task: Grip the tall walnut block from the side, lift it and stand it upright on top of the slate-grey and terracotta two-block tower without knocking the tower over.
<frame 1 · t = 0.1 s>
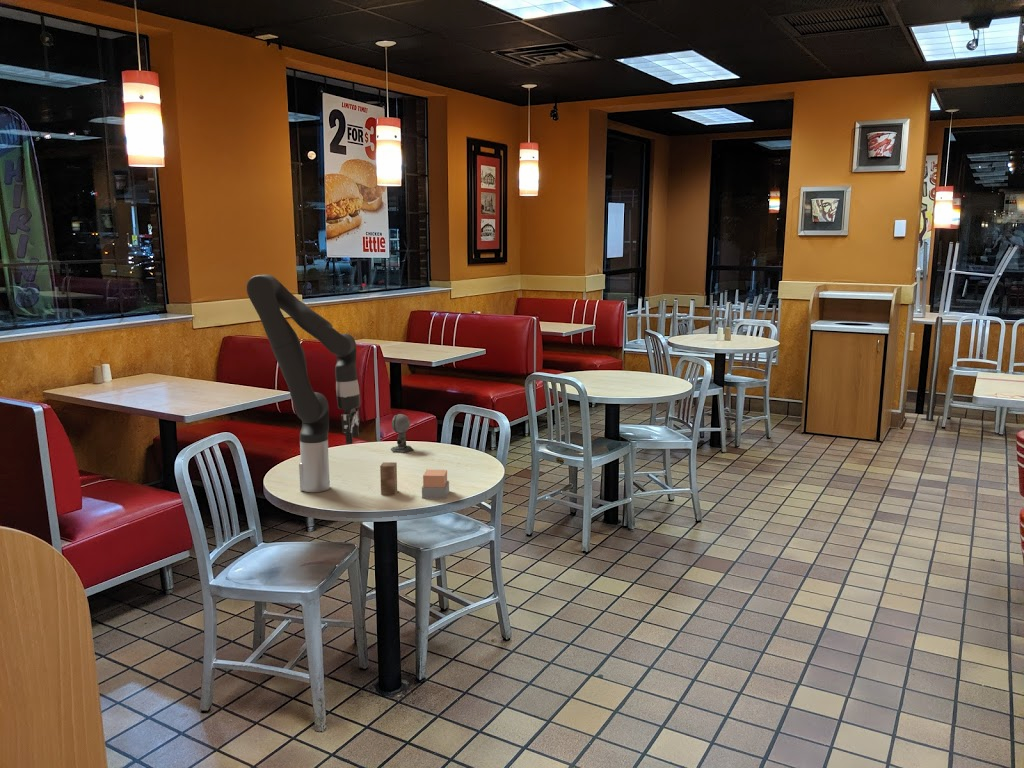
hand: (352, 440, 261), 17 cm above the table, tool pointing down, fingers open, 8 cm apart
tower top: (435, 484, 258), point 4 cm above the table, touching tower base
grey round-topped stand: (402, 450, 315), on the table
walnut block: (389, 492, 261), on the table
tower base: (435, 495, 259), on the table, touching tower top
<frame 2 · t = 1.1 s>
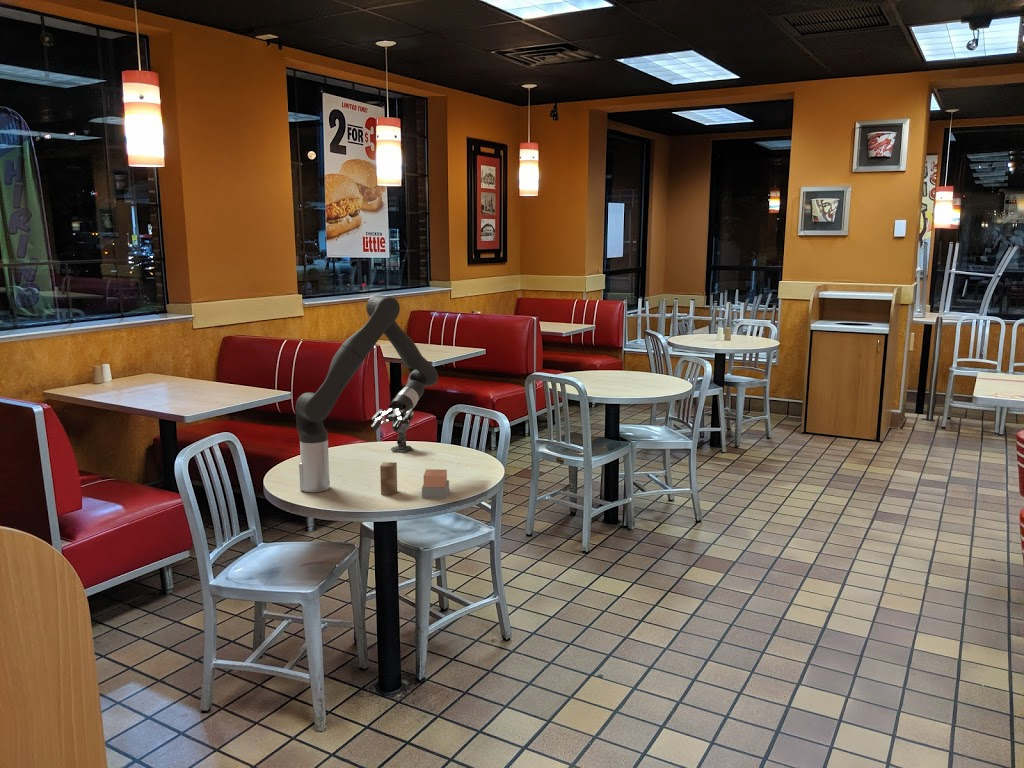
hand: (383, 429, 262), 21 cm above the table, tool tilted 65°, fingers open, 8 cm apart
nothing on the table moved.
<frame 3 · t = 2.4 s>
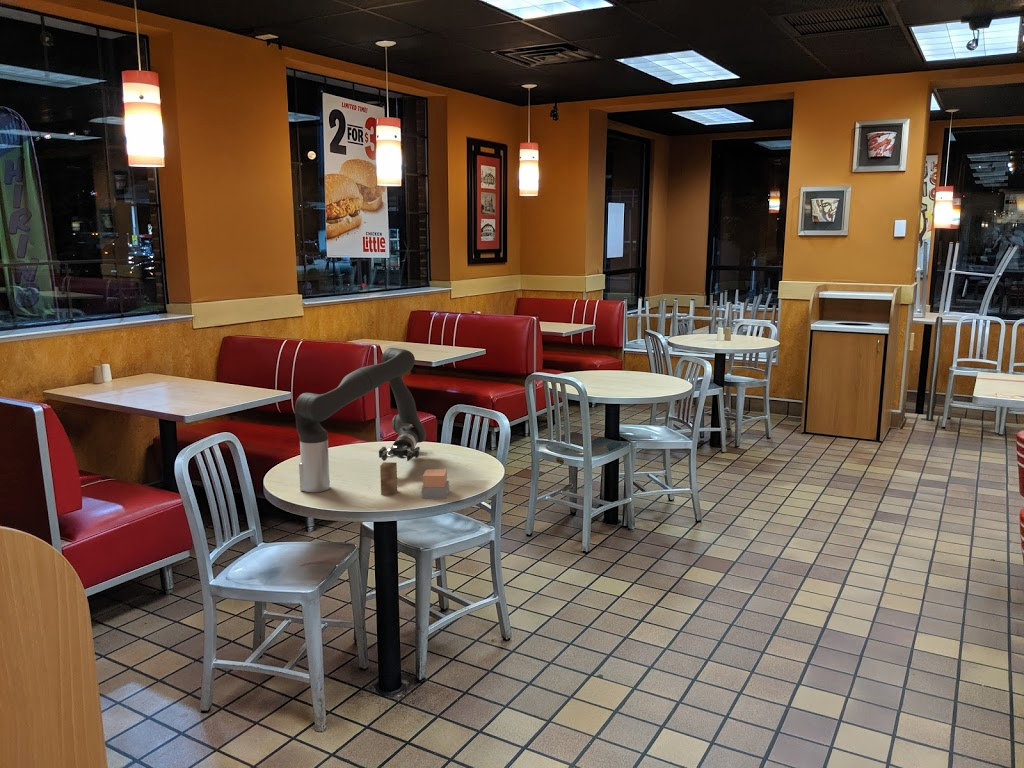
hand: (395, 458, 270), 9 cm above the table, tool horizontal, fingers open, 8 cm apart
nothing on the table moved.
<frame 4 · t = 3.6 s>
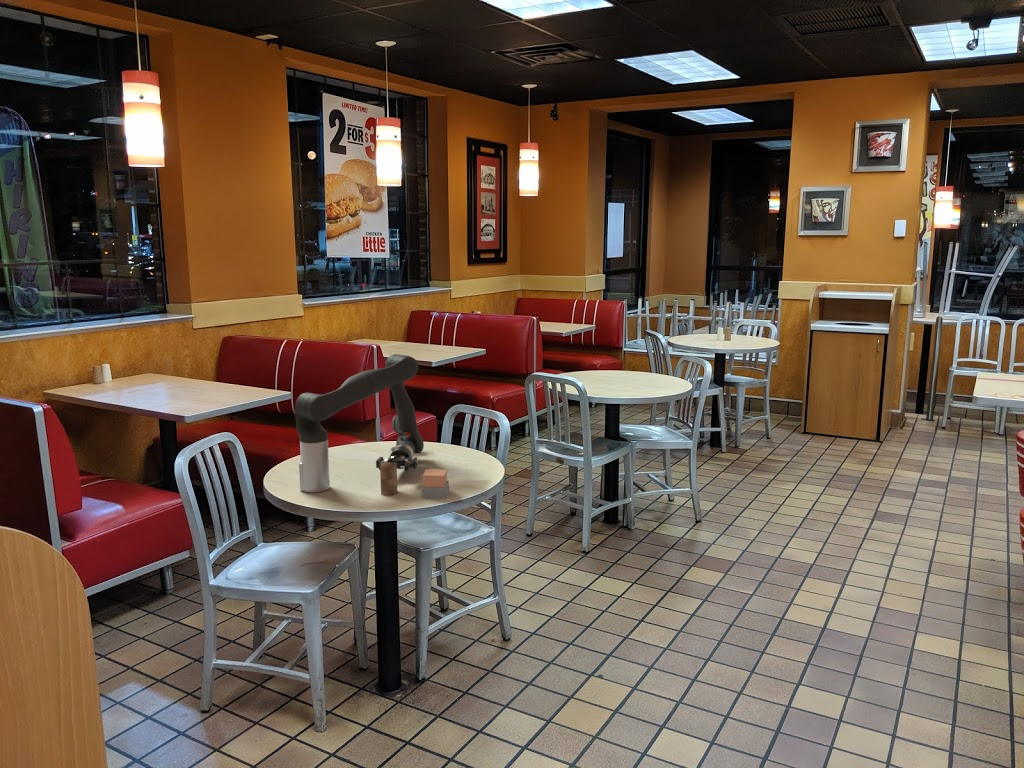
hand: (393, 468, 267), 6 cm above the table, tool horizontal, fingers open, 8 cm apart
tower top: (435, 483, 258), point 4 cm above the table
tower base: (435, 495, 259), on the table
everything else where it was.
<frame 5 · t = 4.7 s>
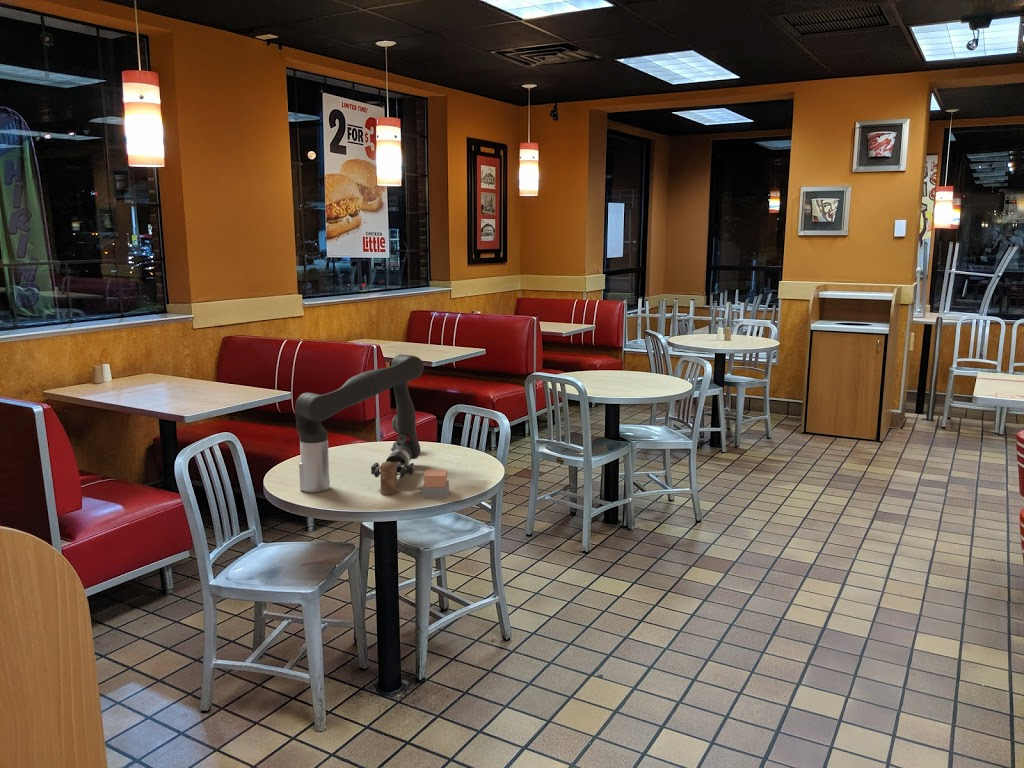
hand: (388, 474, 260), 6 cm above the table, tool horizontal, fingers open, 8 cm apart
tower top: (435, 484, 258), point 4 cm above the table, touching tower base
tower base: (435, 495, 259), on the table, touching tower top
everything else where it was.
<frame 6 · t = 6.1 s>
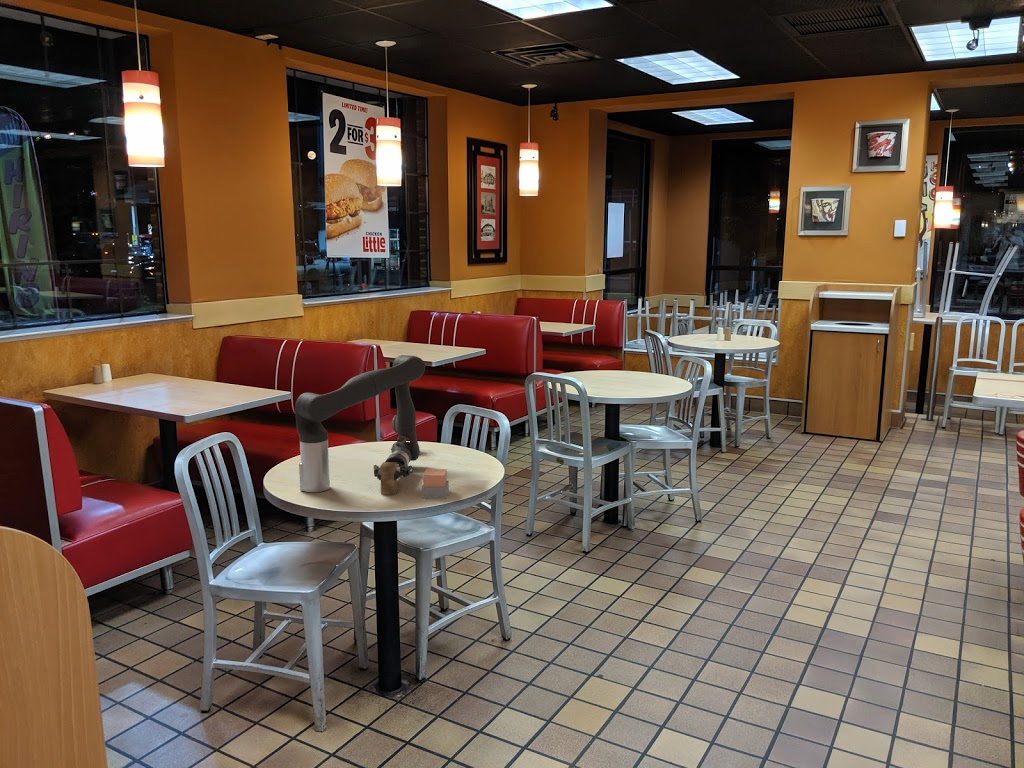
hand: (387, 477, 257), 6 cm above the table, tool horizontal, fingers closed on walnut block, 4 cm apart
walnut block: (389, 492, 261), on the table, touching gripper
everything else where it was.
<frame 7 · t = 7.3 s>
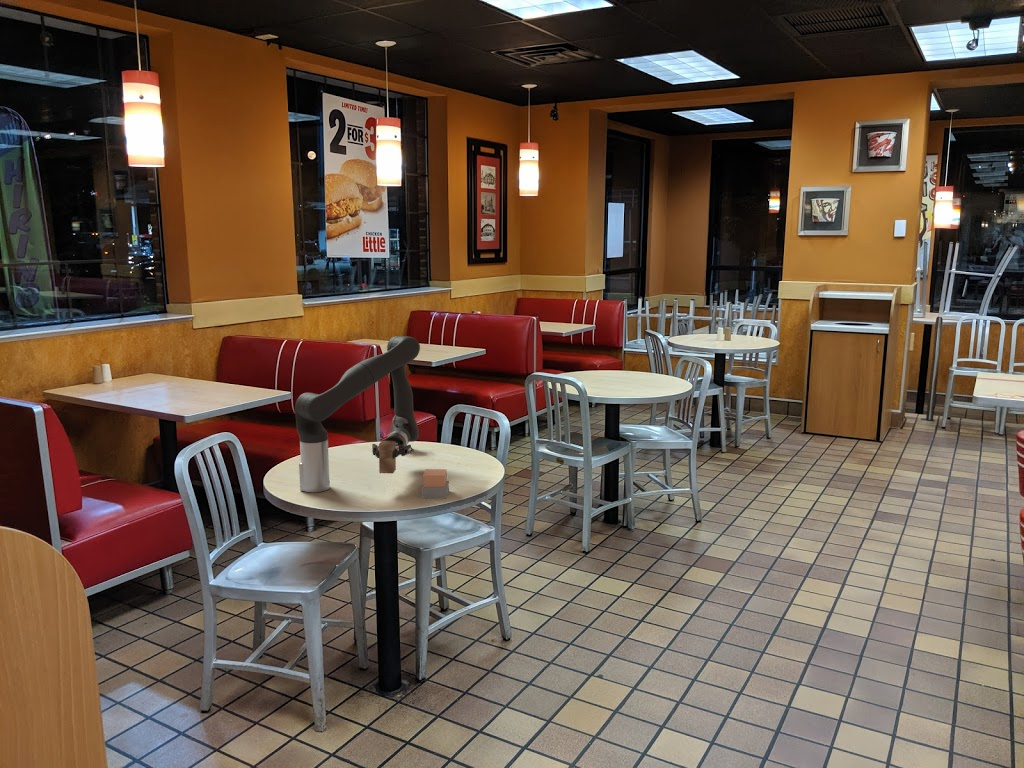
hand: (385, 455, 255), 14 cm above the table, tool horizontal, fingers closed on walnut block, 4 cm apart
walnut block: (387, 471, 259), point 8 cm above the table, touching gripper
everything else where it was.
when the fingers open (15 cm above the table, at t = 11.6 s): walnut block moves 1 cm, resting on tower top.
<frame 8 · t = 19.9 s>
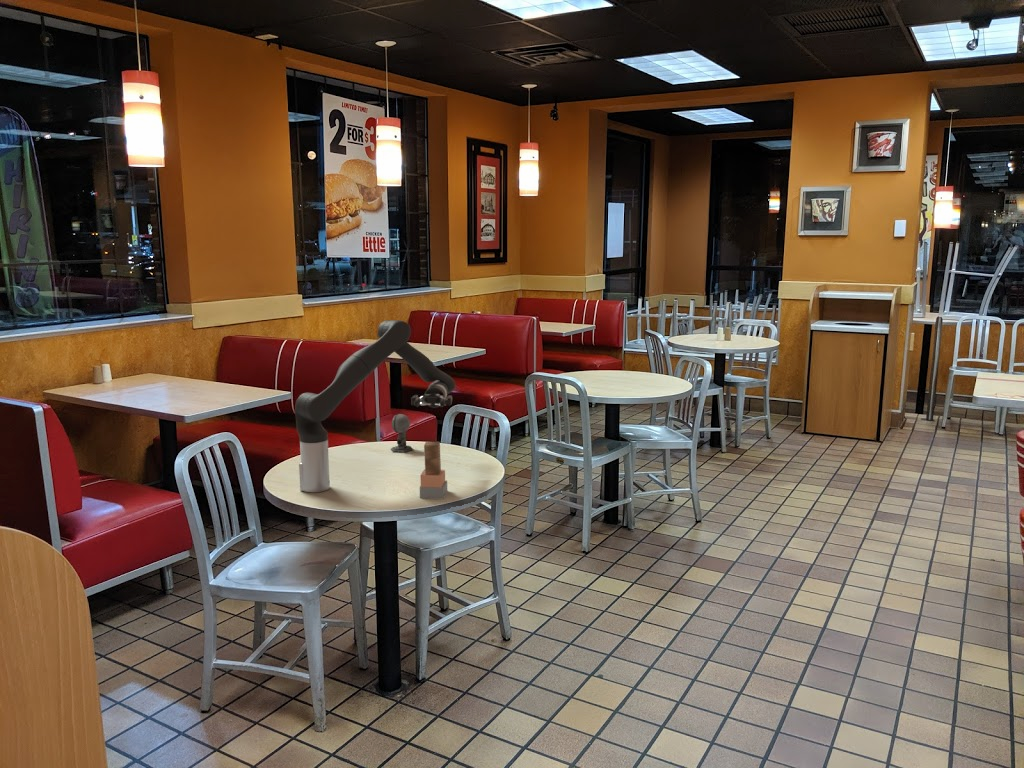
hand: (428, 404, 268), 28 cm above the table, tool horizontal, fingers open, 8 cm apart
tower top: (433, 484, 258), point 4 cm above the table, touching tower base, walnut block
walnut block: (433, 472, 257), point 8 cm above the table, touching tower top
everything else where it was.
at the end: walnut block 0.1 cm off-centre on the tower top, point 4.1 cm above the tower top's base; walnut block tilted 1°; tower top 0.3 cm off-centre on the tower base, point 4.0 cm above the tower base's base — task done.
